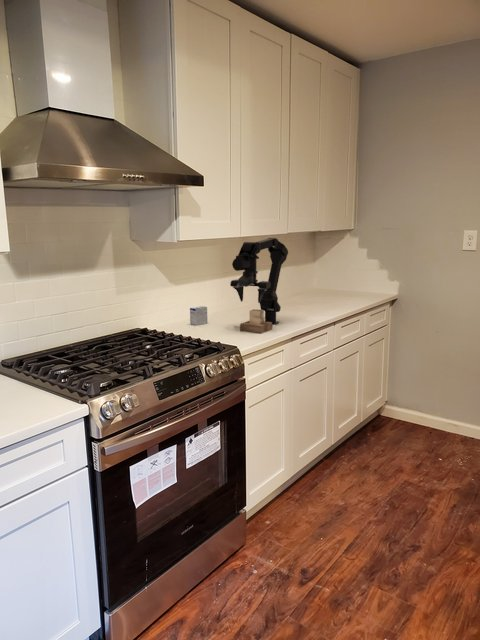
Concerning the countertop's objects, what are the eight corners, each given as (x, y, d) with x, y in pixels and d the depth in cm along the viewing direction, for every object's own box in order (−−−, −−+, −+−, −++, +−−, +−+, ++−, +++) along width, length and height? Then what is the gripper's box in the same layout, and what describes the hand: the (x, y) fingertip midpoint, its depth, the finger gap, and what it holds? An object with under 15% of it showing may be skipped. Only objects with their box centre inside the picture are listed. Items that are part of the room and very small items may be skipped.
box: (201, 322, 260) (201, 305, 258) (207, 323, 257) (207, 306, 255) (189, 324, 254) (189, 307, 253) (195, 325, 251) (195, 308, 250)
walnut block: (252, 327, 249) (252, 319, 248) (272, 330, 243) (272, 322, 242) (240, 332, 239) (240, 323, 239) (260, 334, 234) (260, 326, 233)
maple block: (254, 321, 244) (254, 309, 243) (263, 322, 241) (263, 309, 240) (249, 323, 239) (249, 310, 238) (259, 324, 237) (259, 311, 236)
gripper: (224, 269, 236) (224, 303, 239) (260, 271, 227) (260, 306, 230) (235, 267, 246) (236, 299, 249) (271, 269, 237) (271, 302, 240)
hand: (250, 302), depth 242 cm, fingers open, 9 cm apart
